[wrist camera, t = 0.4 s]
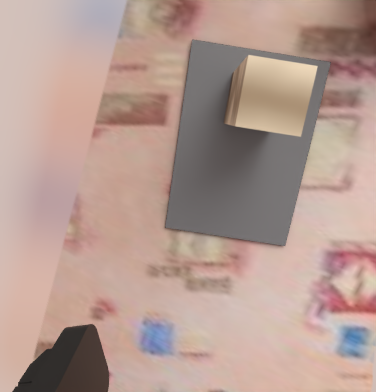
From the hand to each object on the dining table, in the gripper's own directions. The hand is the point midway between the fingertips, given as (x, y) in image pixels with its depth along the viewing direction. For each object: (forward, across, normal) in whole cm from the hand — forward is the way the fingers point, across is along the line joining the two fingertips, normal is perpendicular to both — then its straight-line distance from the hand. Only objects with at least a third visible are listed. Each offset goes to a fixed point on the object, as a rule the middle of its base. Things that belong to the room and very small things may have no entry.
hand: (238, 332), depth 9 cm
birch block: (+27, -6, -6) cm, 28 cm away
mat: (+27, -4, -1) cm, 27 cm away
